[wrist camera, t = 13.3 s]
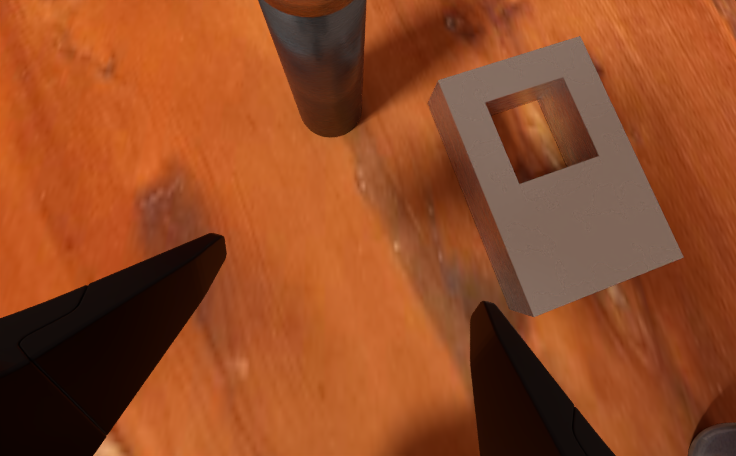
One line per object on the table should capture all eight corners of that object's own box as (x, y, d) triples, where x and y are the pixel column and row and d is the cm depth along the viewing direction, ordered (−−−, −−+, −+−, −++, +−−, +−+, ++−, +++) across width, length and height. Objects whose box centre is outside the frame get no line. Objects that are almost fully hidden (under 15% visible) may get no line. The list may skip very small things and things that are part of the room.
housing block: (509, 309, 22) (534, 317, 19) (427, 103, 24) (437, 80, 21) (641, 258, 23) (683, 257, 20) (553, 63, 25) (580, 36, 22)
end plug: (310, 146, 23) (253, -6, 10) (290, 89, 23) (211, -126, 10) (370, 126, 23) (391, -42, 10) (350, 71, 24) (344, -157, 11)
